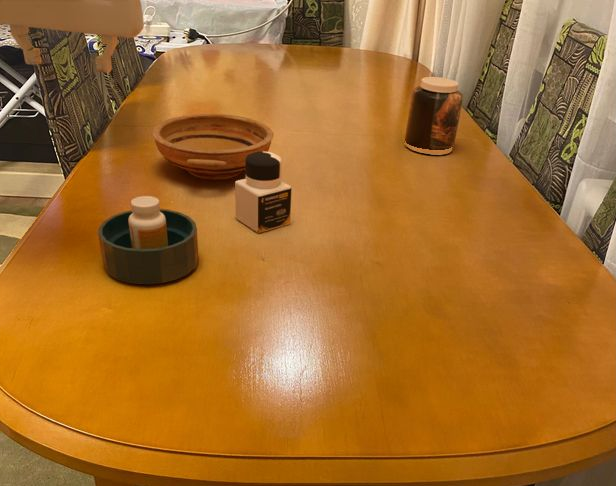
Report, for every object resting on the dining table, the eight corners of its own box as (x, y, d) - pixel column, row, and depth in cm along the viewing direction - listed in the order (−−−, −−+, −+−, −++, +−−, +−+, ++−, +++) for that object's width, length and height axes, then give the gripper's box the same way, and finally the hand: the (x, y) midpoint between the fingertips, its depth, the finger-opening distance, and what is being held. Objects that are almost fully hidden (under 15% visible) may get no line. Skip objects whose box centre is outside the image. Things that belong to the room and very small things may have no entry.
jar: (399, 151, 142) (409, 83, 133) (408, 136, 151) (418, 72, 142) (449, 159, 140) (462, 90, 131) (456, 144, 149) (469, 79, 140)
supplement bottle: (176, 258, 94) (171, 199, 88) (153, 272, 90) (146, 212, 85) (150, 248, 96) (144, 190, 90) (126, 262, 93) (117, 202, 87)
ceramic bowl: (169, 143, 138) (166, 106, 133) (275, 149, 139) (276, 113, 134) (141, 194, 114) (136, 152, 109) (269, 201, 115) (270, 159, 110)
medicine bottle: (258, 234, 104) (258, 165, 97) (234, 219, 108) (233, 152, 101) (290, 224, 108) (293, 157, 100) (267, 210, 112) (268, 145, 105)
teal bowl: (90, 283, 88) (83, 246, 85) (121, 239, 100) (116, 205, 96) (187, 291, 88) (184, 254, 84) (206, 246, 99) (204, 212, 96)
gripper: (145, -50, 74) (153, 70, 83) (-19, -68, 75) (5, 54, 83) (130, -47, 69) (139, 81, 78) (-47, -66, 69) (-18, 64, 78)
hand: (69, 67), depth 80 cm, fingers open, 8 cm apart
